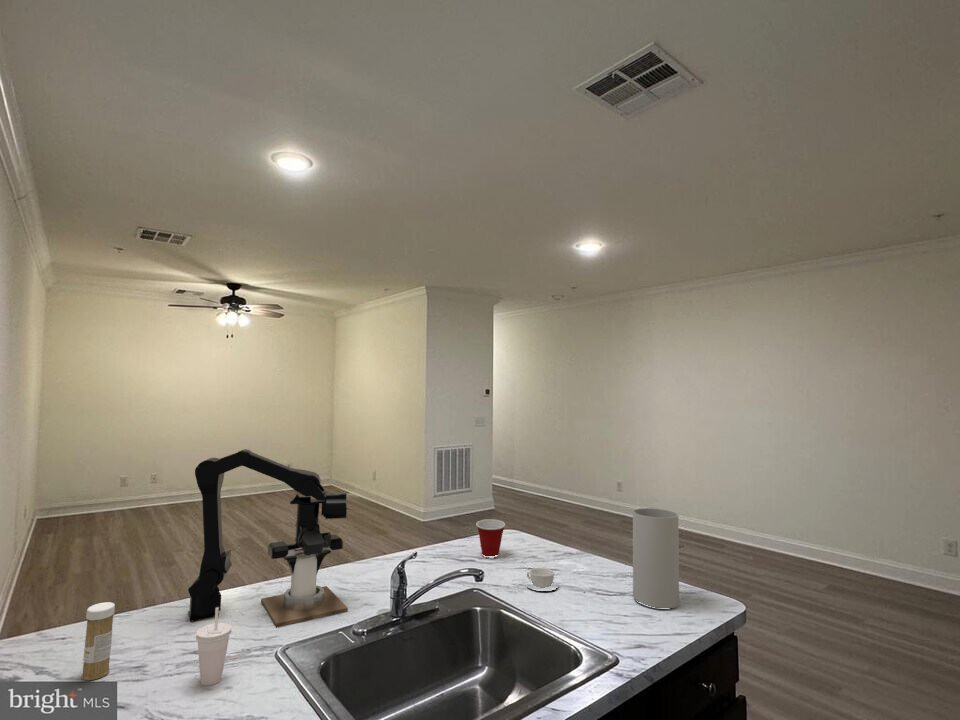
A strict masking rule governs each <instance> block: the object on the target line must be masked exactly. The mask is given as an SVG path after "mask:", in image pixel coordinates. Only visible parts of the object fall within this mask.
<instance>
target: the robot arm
mask: <svg viewBox="0 0 960 720" xmlns="http://www.w3.org/2000/svg"><path fill="white" fill-rule="evenodd" d="M239 467H245V468H247V469H250V470H251V471H254V472H255V471H256V472H257V473H259V474H260V473H261V474H262V475H265V476H268V477H270V478H272V479H275V480H278V481H280V482H283V483H284V484H286V485H287V486H288V487H290V488H291V489H292V490H294V491H296V492H297V493H296V494H295V495H294V497H293V498H291V500H290V502H289V503H290V505H297V506H296V507H297V508H296V522H295V537H294V542H295V543H290V544H287V543H286V542H285V540H282V541H274V542H270V543H269V545H268V546H267V556H269V557H270V558H271V559H274V560H276V559H284V561H286V562H287V564H288V567H289V570H290V573H292V574H293V573H294V567H295V563H296V559H297V557H296V556H295V554H296V553H295V552H298V551H299V552H300V551H302V552H304V554H305V555H311V554H316V555H315V556H316V558H317V574H318V572H319V569H320V567H321V564H322V562H323V560H324V559H325V557H326V556H327V555H329V554H331V553H332V551H336V550H337V551H338V550H342V549H343V548H344V540H343V539H342V538H341V537H340V536H339V535H337V534H331V532H330V531H329V532H321V530H320V528H321V527H320V524H319V519H320V518H319V517H320V511H321V516H322V517H323V518H324V519H325V520H336V519H338V520H339V519H347V512H348V511H347V509H348V505H347V503H348V502H347V493H346V492H342V493H327V492H328V491H326V489H325V488H324V487H323V485H322V482H321V476H320V475H319V474H318V473H316V472H315V471H312V470H311V471H310V470H306V469H299V468H293V467H289V466H287V465H285V464H283V463H280V462H277V461H275V460H272V459H271V458H268V457H265V456H263V455H259V454H257V453H254V452H253V451H252V450H250V449H247V448H246V449H244V448H243V449H242V450H239V451H237V452H235V453H232V454H229V455H227V456H224V457H221V458H217V457H210V458H207V459H205V460H203V461H201V462H200V463H198V465H197V466H196V468H195V471H194V474H195V475H194V476H195V480H196V484H197V487H198V489H199V492H200V494H201V497H202V498H201V499H202V500H201V501H202V502H201V503H202V520H203V521H202V522H203V523H202V524H203V548H204V550H203V555H202V559H201V563H200V569H199V574H198V576H197V578H196V579H195V580H194V581H193V582H192V584H191V585H190V586H189V587H188V589H187V591H188V593H189V609H188V611H187V615H188V619H189V622H196V621H197V622H198V621H203V620H207V619H212V618H215V610H216V608H217V607H218V608H219V611H218V617H219V616H220V613H219V612H221V605H222V594H221V591H220V588H219V585H220V584H221V583H222V582H223V581H224V579H225V577H226V576H227V574H228V573H229V572H230V571H229V570H230V568H231V567H232V565H233V564H232V561H231V555H232V550H227V551H226V549H225V548H224V547H225V546H224V543H223V527H222V526H223V525H222V523H223V522H222V502H221V501H222V499H221V496H222V495H221V491H222V487H223V483H224V479H225V473H227V472H229V471H232V470H234V469H237V468H239ZM301 495H302V496H301ZM320 504H321V510H320Z"/></svg>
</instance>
